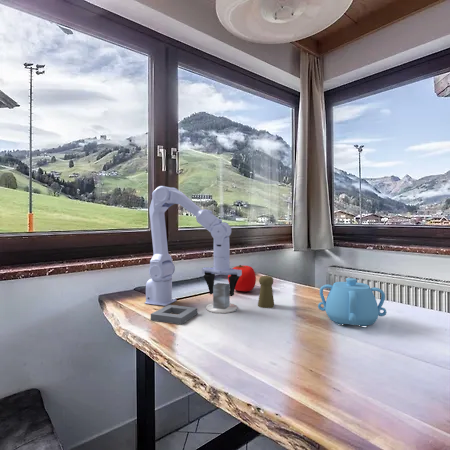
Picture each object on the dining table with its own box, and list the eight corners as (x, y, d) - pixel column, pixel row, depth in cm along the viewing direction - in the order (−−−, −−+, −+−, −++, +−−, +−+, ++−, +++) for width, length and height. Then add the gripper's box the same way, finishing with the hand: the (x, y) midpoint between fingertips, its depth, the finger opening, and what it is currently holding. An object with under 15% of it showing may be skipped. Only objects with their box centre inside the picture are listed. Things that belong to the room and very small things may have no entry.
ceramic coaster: (201, 311, 111) (201, 309, 111) (213, 302, 121) (213, 301, 121) (230, 314, 107) (230, 313, 107) (241, 305, 117) (241, 304, 117)
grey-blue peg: (213, 307, 113) (213, 285, 112) (218, 304, 117) (218, 282, 117) (225, 309, 111) (224, 286, 111) (229, 305, 115) (229, 283, 115)
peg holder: (150, 320, 102) (150, 313, 102) (169, 310, 112) (169, 304, 112) (181, 324, 98) (181, 318, 98) (197, 313, 108) (197, 307, 108)
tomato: (262, 289, 142) (262, 264, 142) (247, 296, 130) (247, 268, 130) (238, 286, 149) (238, 261, 148) (222, 292, 137) (222, 266, 137)
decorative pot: (354, 311, 111) (354, 272, 110) (392, 326, 95) (392, 281, 95) (313, 316, 105) (314, 275, 105) (347, 333, 90) (347, 285, 90)
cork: (274, 308, 114) (274, 278, 113) (257, 307, 115) (257, 277, 115) (274, 303, 120) (274, 274, 119) (258, 303, 121) (258, 274, 121)
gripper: (198, 257, 112) (198, 295, 113) (237, 259, 107) (237, 299, 108) (206, 254, 119) (206, 290, 119) (243, 256, 114) (243, 294, 114)
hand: (221, 294), depth 114 cm, fingers open, 7 cm apart
